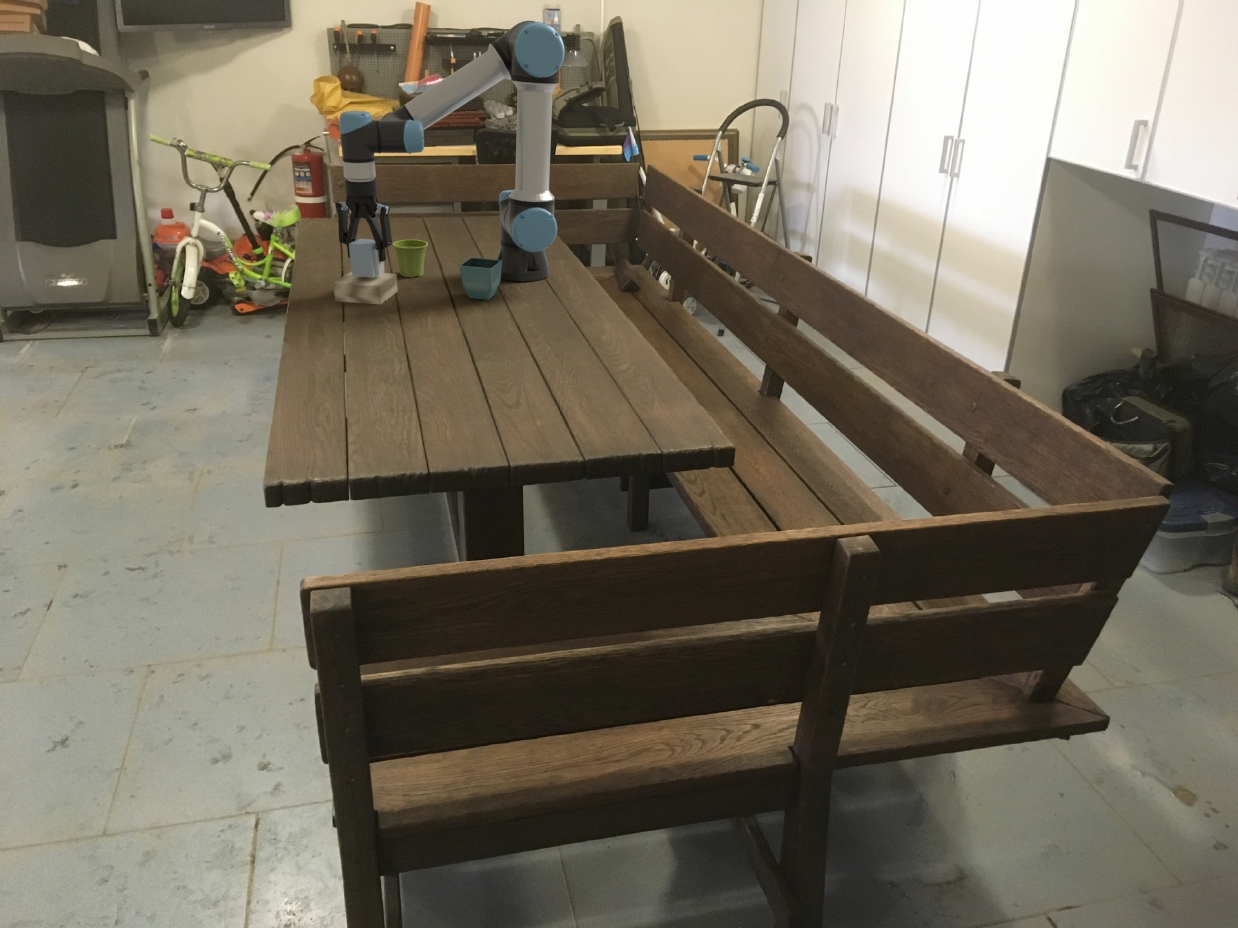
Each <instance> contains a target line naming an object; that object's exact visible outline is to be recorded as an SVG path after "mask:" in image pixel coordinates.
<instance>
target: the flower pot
mask: <svg viewBox="0 0 1238 928" xmlns="http://www.w3.org/2000/svg"><path fill="white" fill-rule="evenodd" d="M458 267H459V272H460V278H461V279H460V280H461V284H462V287H463V289H464V292H465V293H466V295H467V296H468V297H469V299H477V300H490V299H491V298H492V297H493V296H494V295H495V294H496V292H497V290H498V288H499V286H500V282H501V280H502V279H501V270H502V260H497V259H491V258H483V257H482V258H481V257H468V259H467V260H465V261H463V262H462V263H461V264H460V265H459V266H458Z"/></svg>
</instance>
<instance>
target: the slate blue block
mask: <svg viewBox="0 0 1238 928" xmlns="http://www.w3.org/2000/svg"><path fill="white" fill-rule="evenodd" d="M376 248H377V246H376V243H375V240H374V239H369V238H359V239H357V240H355V241H354V242H352V243H350V244H349V251H350V258H349V260H350V269H351V270H350V272H352V276H361V277H370V278H374V277H376V276H378V275H376V263H375V251H374V249H376ZM383 264H384V265H385V261H383ZM384 273H386V271H385V267H384Z"/></svg>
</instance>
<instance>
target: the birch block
mask: <svg viewBox="0 0 1238 928" xmlns="http://www.w3.org/2000/svg"><path fill="white" fill-rule="evenodd" d="M332 285H333V293H334V295H333V297H334V302H340V303H341V302H342V303H343V302H344V303H354V302H355V303H356V304H369V305H382V304H384V303H385V302H386V301H387V300H389V299H390V298H391V297H393V296H394V295H395V294H396V293H397V292H398V291H399V290H398V277H397V273H393V272H392V273H390V272H384V273H383V274H381V275H378V276H376V277H374V278H370V277H361V276H352V272H351V271H349V272H348V273H347V274H344V275H343V276H341V277H340V278H339V279H337V280H336V281H334V282H333V284H332ZM388 298H389V299H388ZM385 300H386V301H385ZM384 301H385V302H384Z"/></svg>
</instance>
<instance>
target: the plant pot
mask: <svg viewBox="0 0 1238 928" xmlns="http://www.w3.org/2000/svg"><path fill="white" fill-rule="evenodd" d="M428 245H429V243H428V242H427V241H424V240H420V239H401V240H397V241H394V242H392V246H393V248H394V251H395V252H396V253H395V254H396V257H397V258H396V259H397V262H398V267H399V273H400V275H401V276H402V277H405V278H412V279H413V278H415V277H422V276H424V270H425V268H424V267H425V258H426V257H425V256H426V251H427V247H428Z"/></svg>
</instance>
